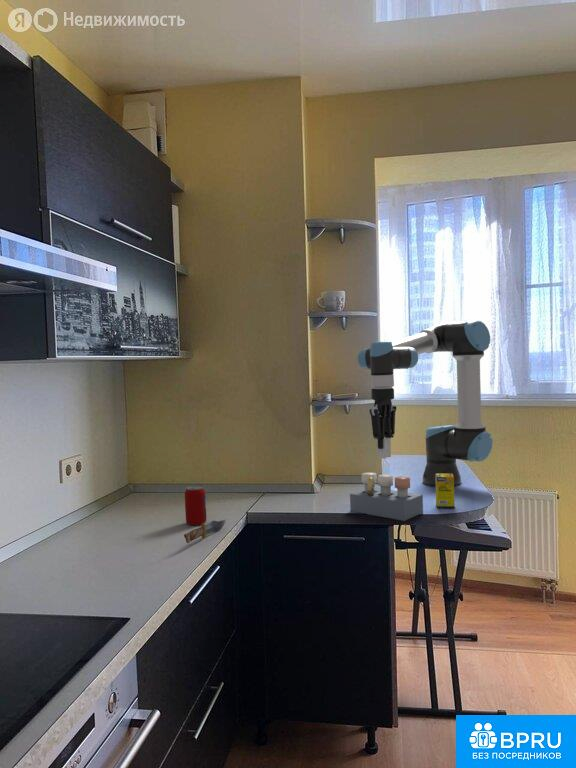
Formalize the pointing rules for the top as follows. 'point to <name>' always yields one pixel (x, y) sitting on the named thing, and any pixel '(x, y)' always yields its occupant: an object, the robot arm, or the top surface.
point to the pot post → (370, 486)
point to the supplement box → (444, 491)
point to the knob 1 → (365, 482)
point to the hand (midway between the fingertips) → (384, 457)
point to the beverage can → (195, 505)
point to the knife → (204, 530)
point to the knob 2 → (385, 484)
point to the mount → (387, 504)
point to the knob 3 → (402, 486)
